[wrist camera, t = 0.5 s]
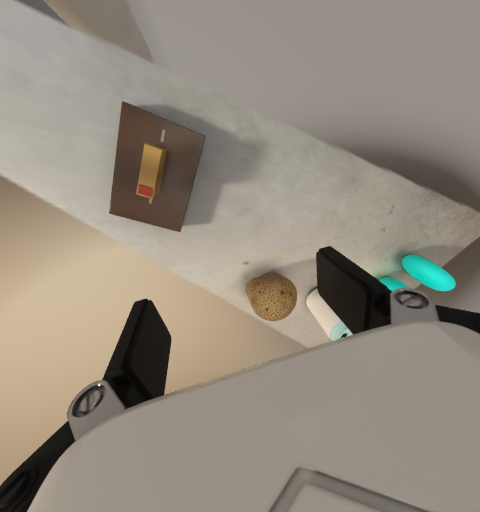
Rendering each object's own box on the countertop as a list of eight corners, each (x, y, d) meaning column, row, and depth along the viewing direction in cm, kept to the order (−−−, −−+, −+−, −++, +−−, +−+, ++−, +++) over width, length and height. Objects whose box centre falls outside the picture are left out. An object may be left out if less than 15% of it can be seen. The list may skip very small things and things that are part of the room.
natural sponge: (286, 291, 46) (307, 324, 37) (248, 303, 46) (261, 339, 37) (281, 257, 42) (304, 285, 33) (239, 269, 41) (251, 302, 33)
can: (311, 313, 51) (341, 355, 40) (300, 295, 47) (330, 336, 37) (336, 298, 50) (373, 337, 40) (327, 279, 47) (365, 316, 36)
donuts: (367, 278, 49) (404, 306, 40) (401, 245, 46) (449, 268, 38) (387, 295, 53) (425, 323, 44) (420, 266, 51) (467, 290, 42)
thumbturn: (153, 144, 27) (143, 143, 22) (168, 150, 27) (161, 150, 22) (146, 186, 29) (135, 194, 24) (159, 191, 29) (152, 199, 24)
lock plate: (129, 105, 27) (121, 100, 24) (204, 137, 30) (205, 136, 27) (116, 208, 32) (108, 213, 29) (181, 226, 35) (180, 232, 32)
